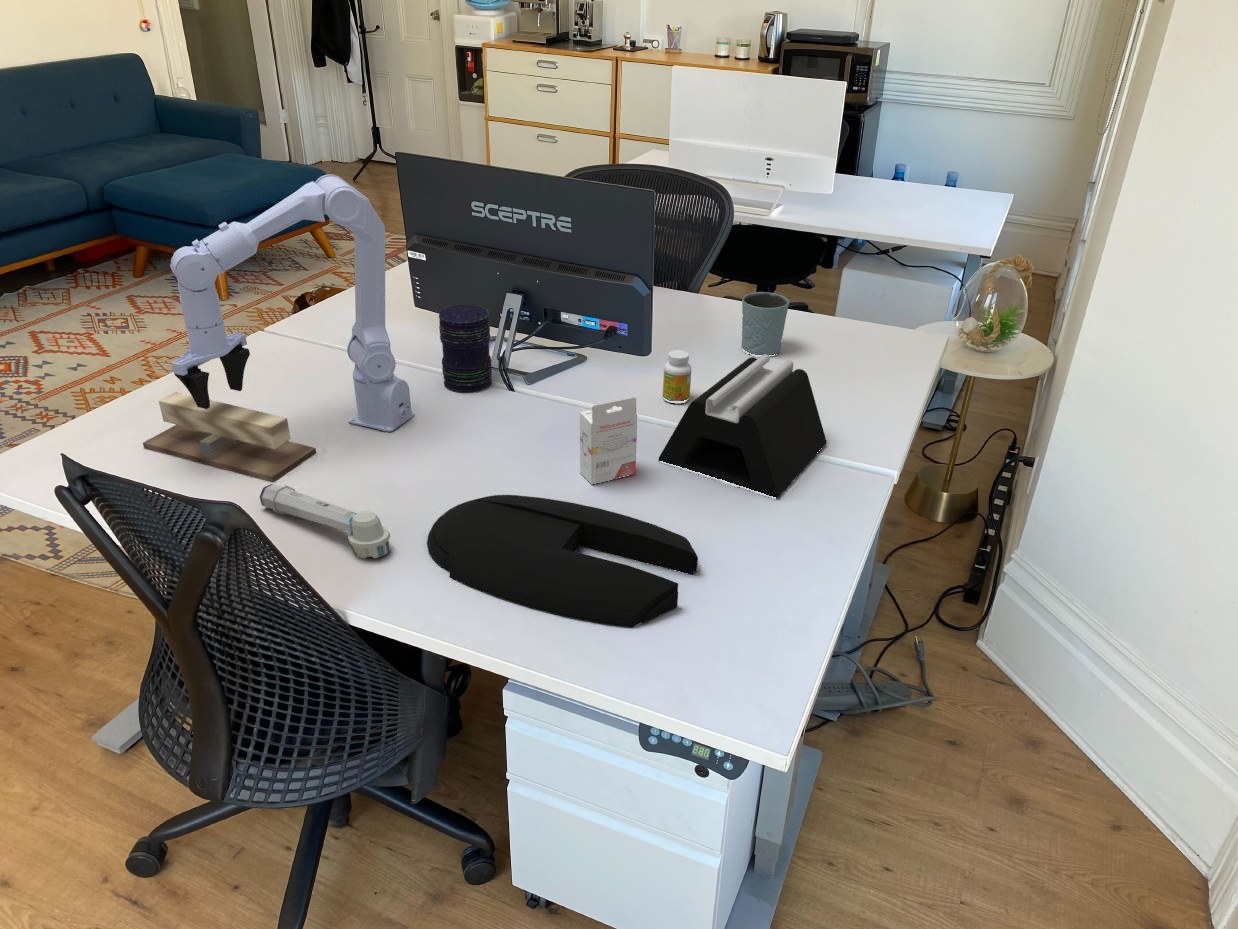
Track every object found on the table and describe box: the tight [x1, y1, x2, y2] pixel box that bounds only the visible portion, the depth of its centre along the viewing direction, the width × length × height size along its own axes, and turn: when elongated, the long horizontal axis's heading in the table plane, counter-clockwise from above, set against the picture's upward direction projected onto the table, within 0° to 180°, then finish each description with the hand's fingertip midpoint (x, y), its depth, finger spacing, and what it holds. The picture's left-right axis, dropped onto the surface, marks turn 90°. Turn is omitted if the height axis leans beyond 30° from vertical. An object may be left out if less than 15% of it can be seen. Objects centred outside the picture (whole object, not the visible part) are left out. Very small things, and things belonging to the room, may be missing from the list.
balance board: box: [142, 424, 317, 483], centre depth 160 cm, size 28×11×1 cm, turn 68°
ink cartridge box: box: [579, 396, 638, 485], centre depth 153 cm, size 9×5×15 cm, turn 117°
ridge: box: [200, 434, 242, 459], centre depth 159 cm, size 2×10×3 cm, turn 158°
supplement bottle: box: [662, 349, 692, 401], centre depth 181 cm, size 5×5×10 cm
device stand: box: [658, 354, 828, 499], centre depth 161 cm, size 22×22×15 cm
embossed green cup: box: [741, 291, 790, 356], centre depth 203 cm, size 10×10×12 cm
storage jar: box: [438, 304, 493, 394], centre depth 183 cm, size 10×10×15 cm
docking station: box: [426, 494, 699, 628], centre depth 134 cm, size 25×41×5 cm, turn 68°
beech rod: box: [158, 391, 291, 449], centre depth 157 cm, size 24×4×4 cm, turn 68°
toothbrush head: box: [259, 483, 391, 559], centre depth 139 cm, size 5×7×25 cm
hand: (220, 398), depth 156 cm, fingers open, 7 cm apart
